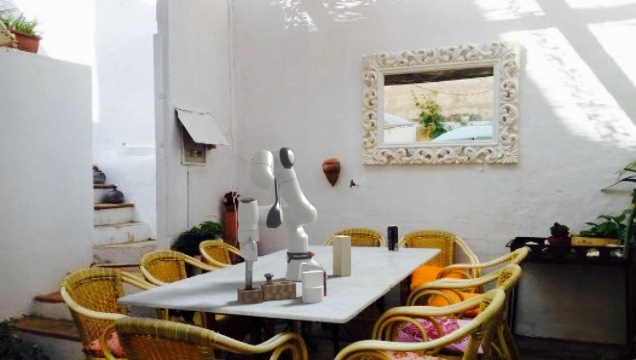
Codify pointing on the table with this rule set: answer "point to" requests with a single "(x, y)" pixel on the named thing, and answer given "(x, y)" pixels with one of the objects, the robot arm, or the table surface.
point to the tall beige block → (341, 255)
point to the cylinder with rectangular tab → (312, 286)
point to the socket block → (279, 290)
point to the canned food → (323, 279)
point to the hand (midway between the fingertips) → (249, 269)
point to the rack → (250, 295)
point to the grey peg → (248, 277)
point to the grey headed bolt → (269, 278)
